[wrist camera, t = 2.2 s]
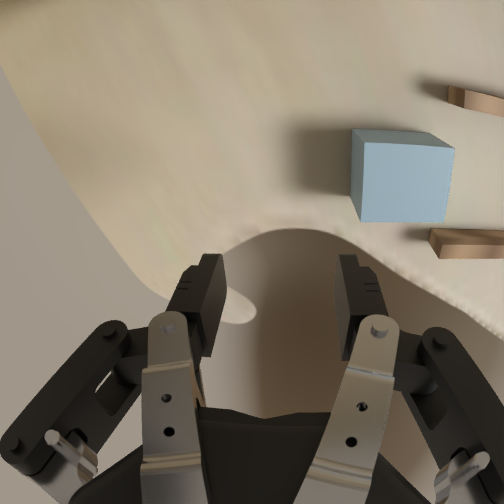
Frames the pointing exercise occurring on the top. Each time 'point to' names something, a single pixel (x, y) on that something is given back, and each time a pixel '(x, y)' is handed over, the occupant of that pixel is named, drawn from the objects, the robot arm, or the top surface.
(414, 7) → the top surface
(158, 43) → the top surface
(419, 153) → the block
